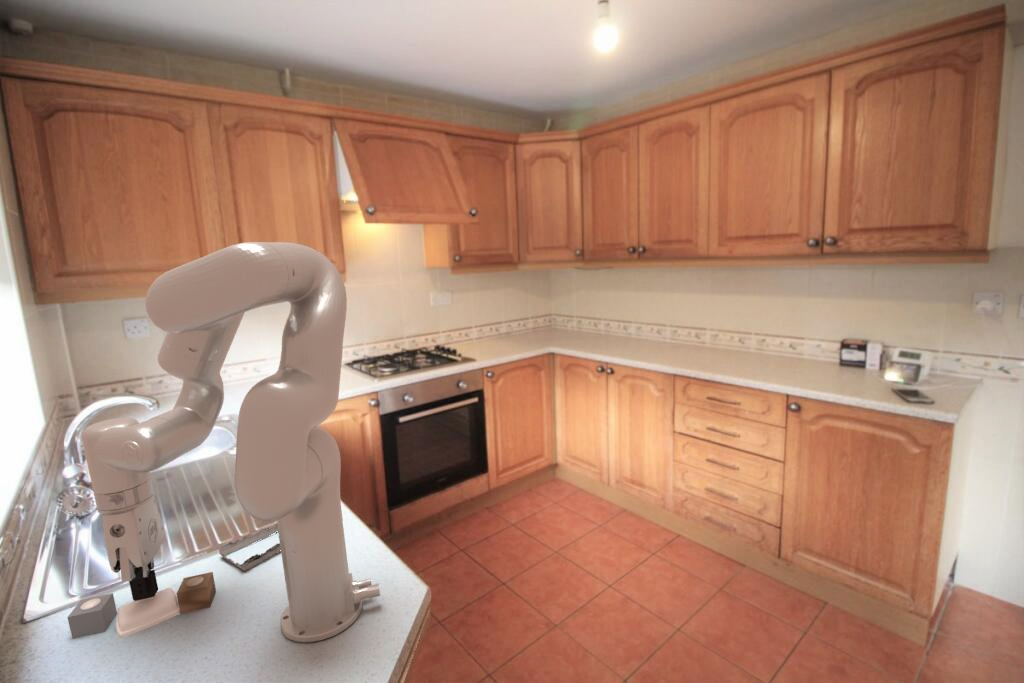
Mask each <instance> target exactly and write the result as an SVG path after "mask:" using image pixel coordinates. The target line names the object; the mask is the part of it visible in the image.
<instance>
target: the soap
mask: <svg viewBox="0 0 1024 683" xmlns="http://www.w3.org/2000/svg"><path fill="white" fill-rule="evenodd" d="M177 615H181V614H180V610H179V604H178V599H177V594H176V593H175V591H174V590H173V588H171V587H168V588H165V589H161V590H158V591H157V593H156V595H155V596H154V597H151V598H147V599H142V600H138V601H134V600H133V601H131V602H128V603H126V604H124V605H122V606H120V607H119V608H118V610H117V615H116V616H115V631H116V634H117V636H118V638H120V639H122V638H126V637H128V636H129V637H130V635H131V636H132V635H133V634H137V633H139V632H141V631H144V630H147V629H148V628H151V627H154V626H155V625H158V624H160V623H162V622H164V621H167V620H170V619H171V618H174V617H175V616H177Z"/></svg>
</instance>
